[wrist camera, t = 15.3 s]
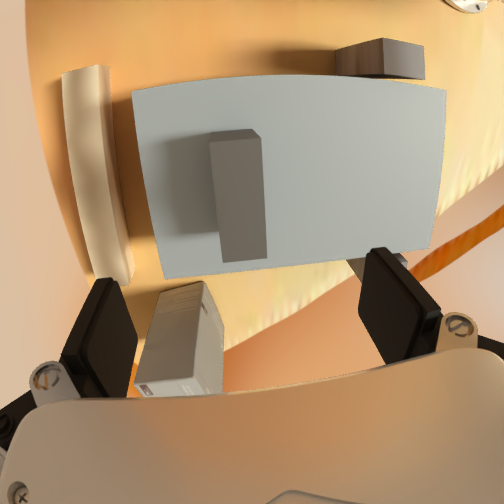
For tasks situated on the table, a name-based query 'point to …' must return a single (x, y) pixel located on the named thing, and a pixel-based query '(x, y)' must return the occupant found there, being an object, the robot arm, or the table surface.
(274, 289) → the table surface
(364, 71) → the brown wooden box
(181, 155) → the lid
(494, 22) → the table surface
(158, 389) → the skincare box
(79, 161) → the smooth beige tapered object
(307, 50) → the table surface
